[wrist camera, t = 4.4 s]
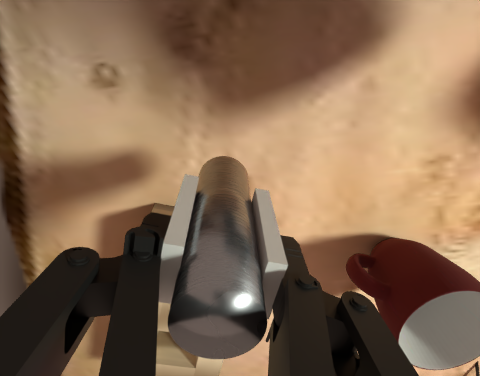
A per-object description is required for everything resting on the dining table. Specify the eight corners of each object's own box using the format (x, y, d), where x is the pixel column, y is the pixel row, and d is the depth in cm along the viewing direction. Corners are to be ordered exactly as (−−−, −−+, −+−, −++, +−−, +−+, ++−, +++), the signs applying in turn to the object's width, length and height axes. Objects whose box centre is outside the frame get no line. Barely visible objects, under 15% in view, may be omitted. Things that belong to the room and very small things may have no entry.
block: (154, 203, 30) (143, 231, 26) (251, 220, 32) (255, 250, 27) (133, 345, 37) (121, 388, 33) (213, 355, 38) (212, 397, 34)
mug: (316, 276, 35) (350, 361, 25) (342, 208, 32) (391, 276, 22) (409, 291, 36) (473, 375, 27) (442, 226, 33) (527, 297, 24)
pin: (203, 151, 21) (176, 277, 10) (253, 162, 21) (279, 295, 10) (194, 196, 22) (160, 351, 11) (241, 205, 23) (252, 364, 12)
